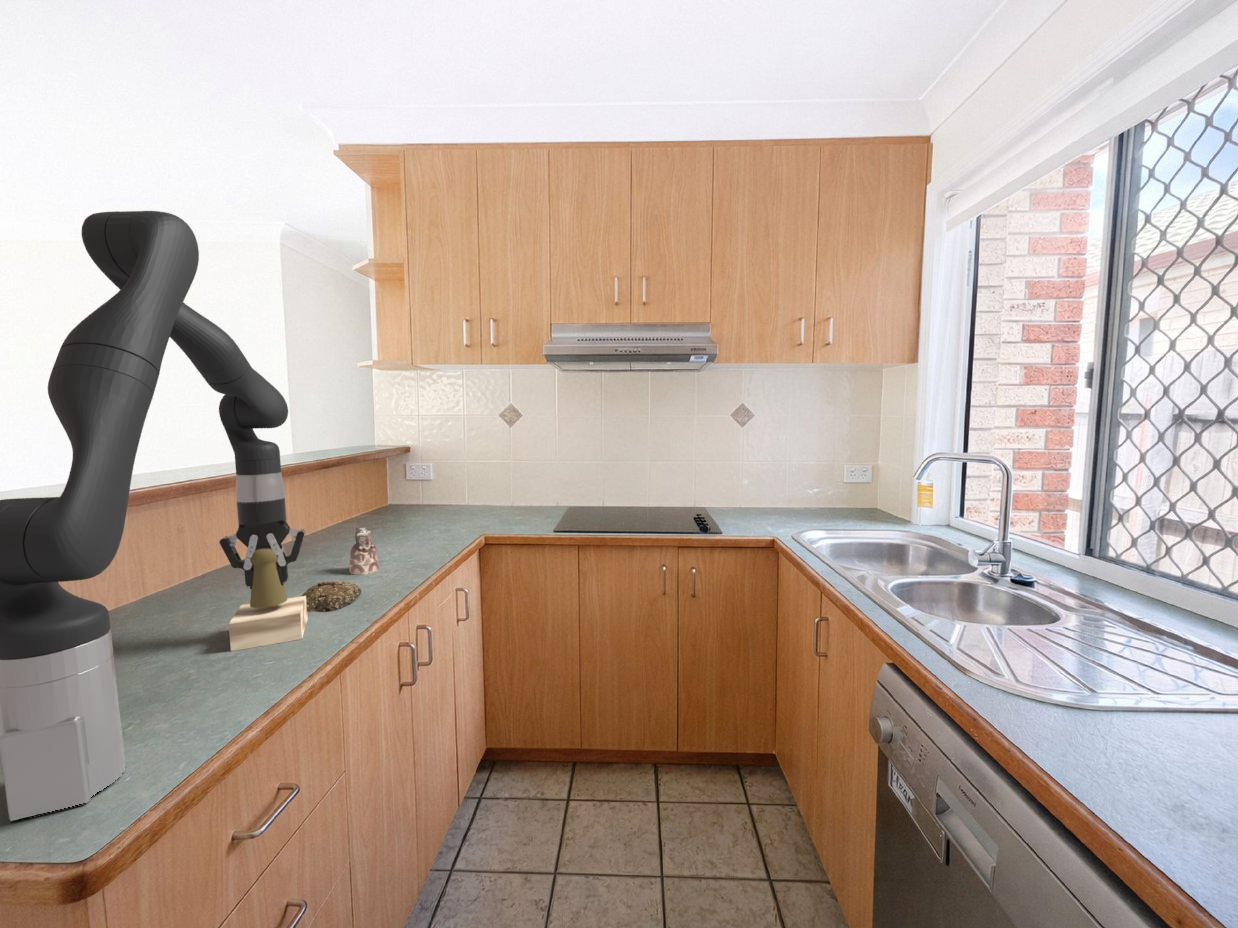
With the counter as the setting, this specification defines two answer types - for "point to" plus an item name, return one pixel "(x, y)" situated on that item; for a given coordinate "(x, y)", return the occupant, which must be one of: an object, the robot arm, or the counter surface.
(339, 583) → the bread roll
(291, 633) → the ash block
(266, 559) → the olive knobbed peg
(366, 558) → the figurine
